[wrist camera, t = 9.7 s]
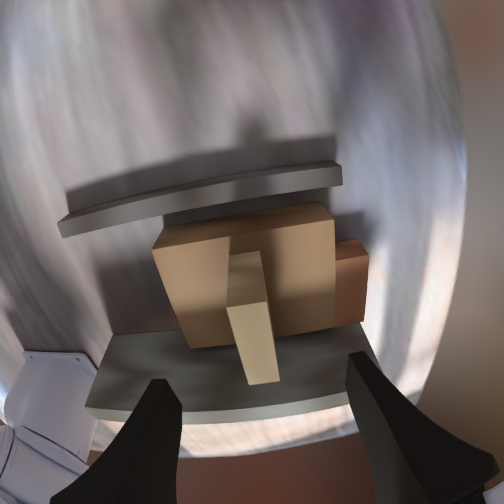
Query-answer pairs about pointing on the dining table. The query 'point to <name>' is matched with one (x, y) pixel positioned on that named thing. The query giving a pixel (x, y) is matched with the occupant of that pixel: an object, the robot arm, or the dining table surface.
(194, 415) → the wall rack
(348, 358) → the robot arm
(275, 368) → the tan box with handle
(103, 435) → the dining table surface
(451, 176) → the dining table surface
